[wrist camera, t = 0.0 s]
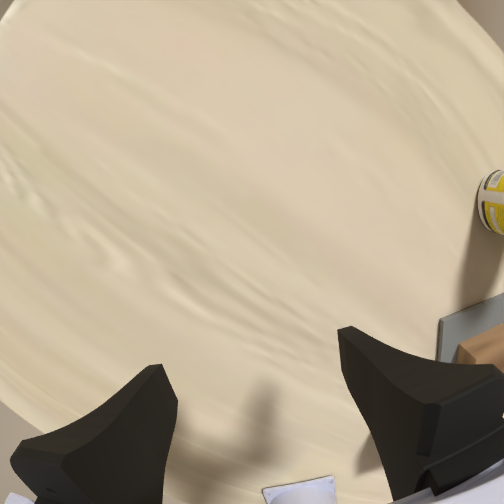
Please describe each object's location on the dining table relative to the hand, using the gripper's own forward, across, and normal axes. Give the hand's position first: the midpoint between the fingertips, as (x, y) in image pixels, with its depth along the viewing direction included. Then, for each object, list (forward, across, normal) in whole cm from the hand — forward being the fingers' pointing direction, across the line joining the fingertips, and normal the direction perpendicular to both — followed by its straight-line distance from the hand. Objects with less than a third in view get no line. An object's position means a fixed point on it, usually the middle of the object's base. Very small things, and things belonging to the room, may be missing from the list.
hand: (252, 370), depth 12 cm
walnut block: (+10, -20, +13) cm, 26 cm away
